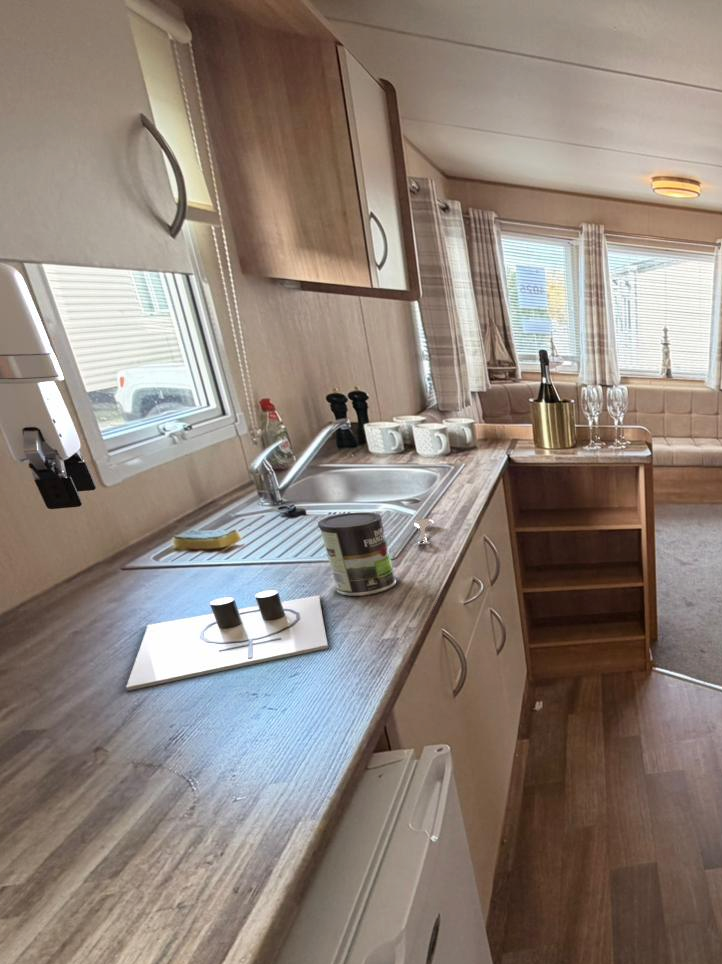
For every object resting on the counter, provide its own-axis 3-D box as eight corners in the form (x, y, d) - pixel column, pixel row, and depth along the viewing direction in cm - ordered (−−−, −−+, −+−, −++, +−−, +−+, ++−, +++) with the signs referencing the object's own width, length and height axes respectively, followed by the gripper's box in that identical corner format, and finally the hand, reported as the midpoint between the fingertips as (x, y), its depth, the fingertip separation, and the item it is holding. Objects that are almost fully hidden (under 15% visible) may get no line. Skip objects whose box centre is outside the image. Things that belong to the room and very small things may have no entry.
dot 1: (217, 630, 108) (209, 606, 106) (218, 623, 111) (210, 599, 109) (242, 626, 110) (233, 602, 108) (242, 619, 112) (234, 595, 110)
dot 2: (262, 622, 112) (254, 598, 110) (262, 615, 114) (255, 592, 112) (285, 618, 113) (278, 595, 112) (285, 611, 116) (277, 588, 114)
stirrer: (430, 533, 147) (406, 535, 145) (433, 548, 148) (410, 550, 146) (433, 515, 164) (411, 517, 162) (435, 528, 165) (414, 530, 163)
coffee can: (407, 577, 134) (392, 512, 128) (377, 597, 124) (360, 528, 118) (357, 575, 133) (340, 510, 128) (324, 595, 124) (304, 526, 118)
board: (127, 691, 92) (125, 686, 92) (149, 627, 109) (147, 624, 109) (328, 648, 106) (327, 644, 105) (319, 598, 123) (318, 594, 123)
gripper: (-7, 363, 85) (49, 488, 92) (-53, 375, 73) (15, 518, 80) (73, 362, 90) (121, 482, 97) (42, 374, 77) (100, 510, 84)
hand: (73, 498), depth 88 cm, fingers open, 9 cm apart
